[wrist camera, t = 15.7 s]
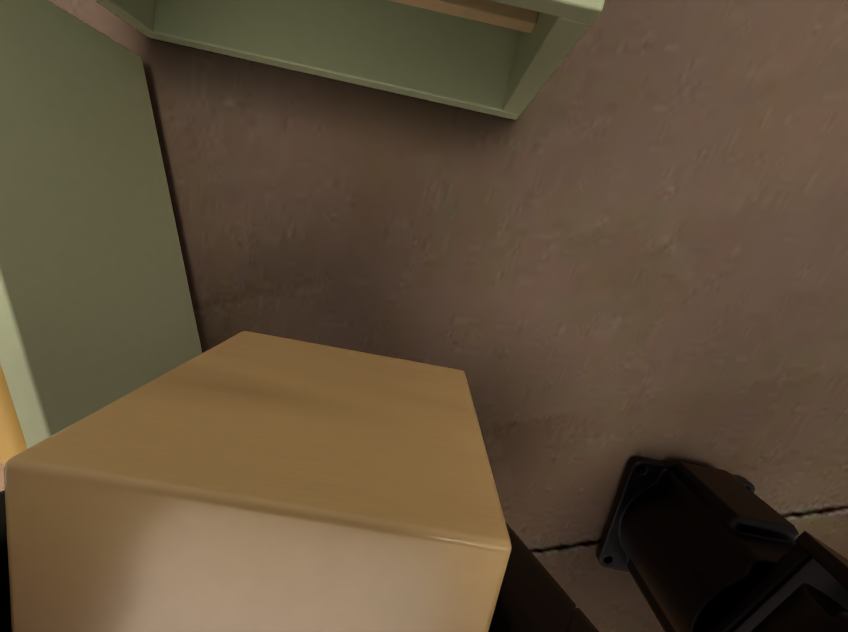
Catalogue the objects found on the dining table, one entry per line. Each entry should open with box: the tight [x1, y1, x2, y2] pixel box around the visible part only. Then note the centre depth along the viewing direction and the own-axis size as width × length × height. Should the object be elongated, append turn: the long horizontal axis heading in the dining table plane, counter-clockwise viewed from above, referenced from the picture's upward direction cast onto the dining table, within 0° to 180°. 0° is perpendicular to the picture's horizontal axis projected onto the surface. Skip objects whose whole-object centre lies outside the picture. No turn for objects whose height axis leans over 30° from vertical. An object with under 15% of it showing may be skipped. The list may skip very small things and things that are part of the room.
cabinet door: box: [0, 0, 202, 466], centre depth 14 cm, size 6×16×8 cm, turn 4°
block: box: [4, 331, 512, 632], centre depth 7 cm, size 5×5×5 cm
